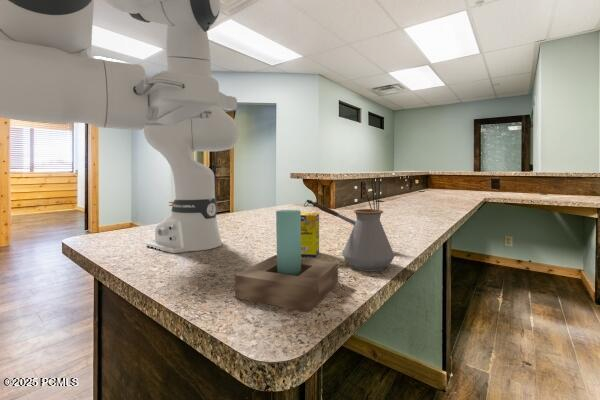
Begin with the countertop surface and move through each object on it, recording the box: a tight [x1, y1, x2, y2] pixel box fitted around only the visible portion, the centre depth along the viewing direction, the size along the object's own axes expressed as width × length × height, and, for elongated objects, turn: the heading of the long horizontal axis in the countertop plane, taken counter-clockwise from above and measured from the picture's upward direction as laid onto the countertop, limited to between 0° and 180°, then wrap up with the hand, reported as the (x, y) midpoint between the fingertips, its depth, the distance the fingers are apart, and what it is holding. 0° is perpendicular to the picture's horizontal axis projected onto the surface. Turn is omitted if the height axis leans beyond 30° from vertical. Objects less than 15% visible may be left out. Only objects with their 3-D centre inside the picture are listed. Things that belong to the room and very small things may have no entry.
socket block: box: [234, 254, 339, 313], centre depth 56 cm, size 14×14×4 cm
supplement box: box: [301, 211, 320, 259], centre depth 81 cm, size 6×6×11 cm
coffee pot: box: [303, 199, 395, 272], centre depth 72 cm, size 21×12×15 cm, turn 66°
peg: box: [275, 209, 302, 276], centre depth 56 cm, size 4×4×13 cm
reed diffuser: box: [361, 177, 381, 210], centre depth 85 cm, size 10×7×20 cm
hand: (221, 109), depth 51 cm, fingers open, 8 cm apart
